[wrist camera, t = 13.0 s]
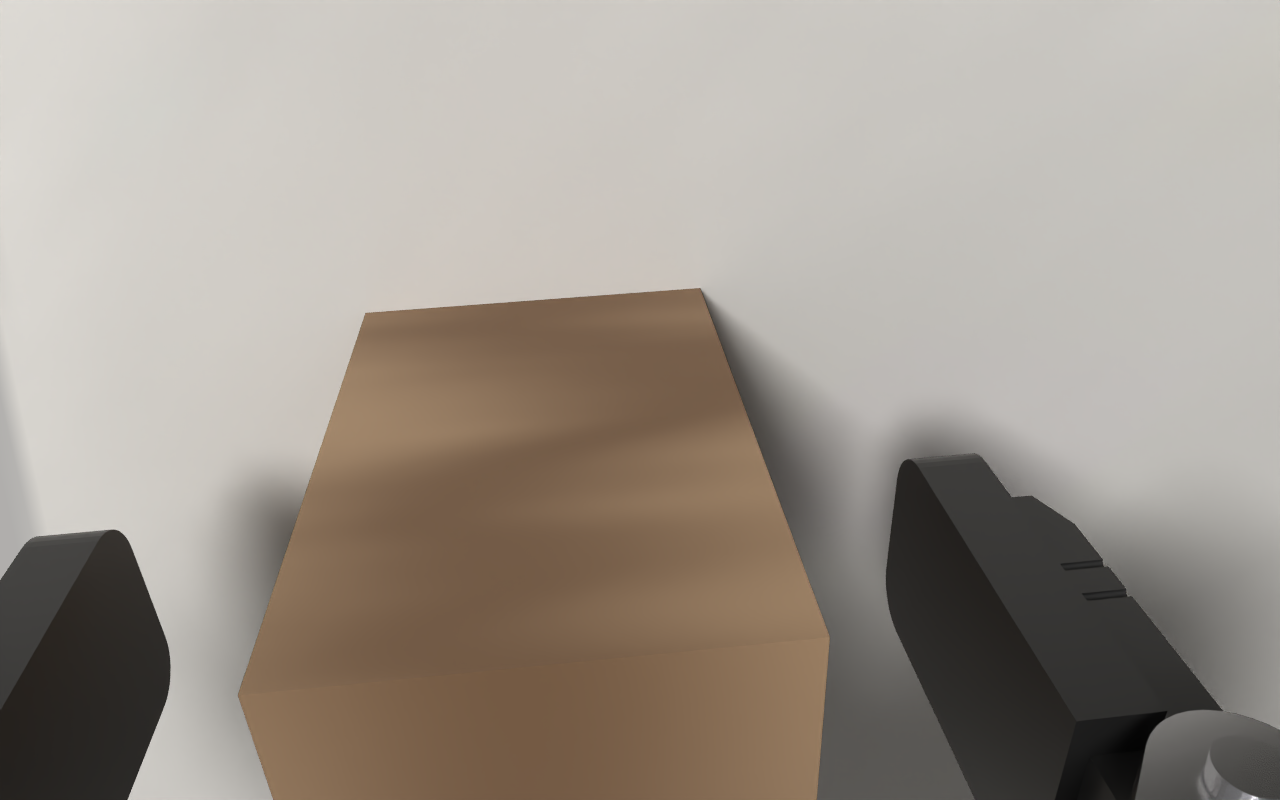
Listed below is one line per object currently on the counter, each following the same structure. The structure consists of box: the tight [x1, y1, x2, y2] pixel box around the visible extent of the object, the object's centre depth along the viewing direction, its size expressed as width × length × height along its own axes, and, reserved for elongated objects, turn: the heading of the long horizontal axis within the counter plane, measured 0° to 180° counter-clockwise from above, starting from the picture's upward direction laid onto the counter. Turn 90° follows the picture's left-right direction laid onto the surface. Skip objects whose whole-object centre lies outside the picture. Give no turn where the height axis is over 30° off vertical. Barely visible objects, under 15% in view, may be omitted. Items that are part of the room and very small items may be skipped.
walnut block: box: [238, 288, 830, 800], centre depth 10 cm, size 4×4×6 cm
